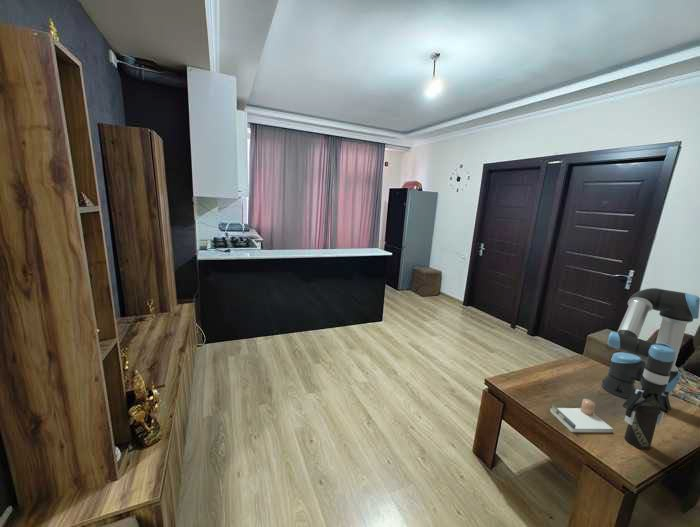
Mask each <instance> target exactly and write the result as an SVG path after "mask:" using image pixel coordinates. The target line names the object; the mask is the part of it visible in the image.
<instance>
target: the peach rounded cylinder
mask: <svg viewBox="0 0 700 527" xmlns="http://www.w3.org/2000/svg"><path fill="white" fill-rule="evenodd" d="M580 408H581V412H582V413H584V414H586V415H589V416H593V413H594V412H595V409H596V402H595V401H593V400H591V399H589V398H583V399H582V402H581V406H580ZM594 414H595V413H594Z"/></svg>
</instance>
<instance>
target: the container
mask: <svg viewBox="0 0 700 527" xmlns="http://www.w3.org/2000/svg"><path fill="white" fill-rule="evenodd" d="M634 411H635V416H634V419H633V423H632V425H630V424H628V423H627V427H626V430H625V433H624V434H625V435H624V440H625V441H626V443H628V444H629V445H631V446H633V447H635V448H638V449H641V450H644V451H648V450H650V449H651V446H652V442H653V438H654V434H655V430H656V427H657V424H656V423H657V419H658V415H659V414H660V413H661V410H660V409H659V408H658V407H657V405H656V404H654V403H652V402H649V401H647V402H644V403H643V404H642V405H640V406H639V407H638V408H637V409H636V410H634Z"/></svg>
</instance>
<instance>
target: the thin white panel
mask: <svg viewBox="0 0 700 527" xmlns="http://www.w3.org/2000/svg"><path fill="white" fill-rule="evenodd" d="M549 412H550V413H551V414H552V415H553V416H554V417H556V419H557V420H559V421H560V423H561V424H563V425H564V426H565V427H566V428H567V429H568V430H569V431H570V432H571V433H613V430H614V429H613V427H611V426H610V425H609V424H608V423H606V422H605V421H604V420H603V419H602V418H600V417H599V416H597V415H596V414H595V413H593V416H589V415H586V414H584V413H582V412H581V407H575V408H574V407H557V406H555V405H554V404H551V406H550V410H549Z"/></svg>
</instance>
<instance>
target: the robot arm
mask: <svg viewBox="0 0 700 527" xmlns="http://www.w3.org/2000/svg"><path fill="white" fill-rule="evenodd" d="M627 306H628V307H627V309H626V312H625V314H624V316H623V318H622V320H621V322H620V325H619V327H618V329H617V331H616V332H615V331H610V333H609V335H608V339H607V342H606V343H607V345H608V346H609V347H611V348H615V349H616V350H621V352H615V353H613V354H612V357H611V358H610V363H609V369H608V372H607V375H606V376H604V379H603V380H602V381H601V382H600V383H601V384H600V386H601V388H602V389H604V390H605V391H606V392H607V393H610V394H612V395H614V396H616V397H619V398H623V399H626V400H625V401H624V402H623V404H622V407H623V408H625V410H626V411H625V414H624V415H625V416H624V422H625V423H627V425H628V424H630V425H632V423H633V419H634V416H635V411H634V410H636V409H637V408H638V407H639V406H640V405H642V404H643V403H644V402H647V401H648V402H649V401H651V402H654V403H655V405H656V406H657V407H658V408H659V409H660V410H661V413H660V414H659V415H658V419H657V423H656V425H658V426H661V425H662V423H663V419H664V417H665V414H669V412H672V406H671V403H670V399H669V395H670V393H671V392H673V391H674V390H675V389H676V388H677V385H678V383H679V382H680V379H681V377H682V373H681V372H679V368H678V367H677V366H676V362H677V359H678V355H679V353H680V349H681V345H682V342H683V339H684V337H685V336H684V335H685V332H686V330H687V329H686V328H687V325H688V324H689V323H693V322H694V321H693V320H698V319H699V314H700V297H699V296H698V295H695V294H692V293H688V292H682V291H681V292H680V291H675V290H669V289H662V288H658V287H655V288H654V287H652V288H645V289H642V290H639V291H637V292H635V293H633V294H632V295H631V296H630V297H629V299H628V301H627ZM652 310H654V311H657V312H659V314H658V315H659V316H660V317H661V318H662V319H661V322H660V327H659V330H658V333H657V338H656V341H655V342H651V341H648V340H644V339H640V338H639V336H640V333H641V331H642V329H643V326H644V324H645V322H646V318H647V316H648V314H649V312H651V311H652ZM622 351H625V352H622ZM641 357H644V358H646V361H643V360H642V358H641ZM636 381H637V382H640V383H639V384H640V385H641V389H638V388H636V385H635V383H636Z"/></svg>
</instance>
